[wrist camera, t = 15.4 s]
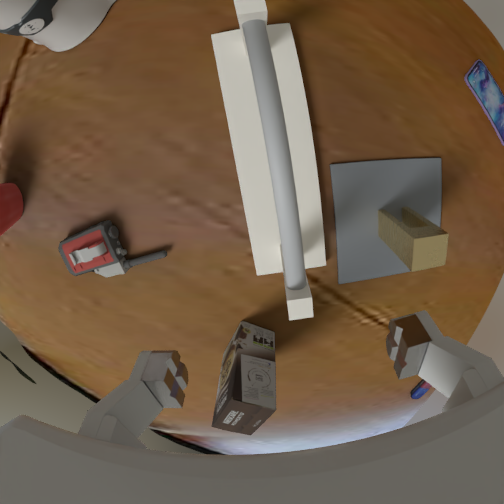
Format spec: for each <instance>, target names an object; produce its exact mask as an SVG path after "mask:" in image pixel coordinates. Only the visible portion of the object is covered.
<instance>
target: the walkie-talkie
mask: <svg viewBox="0 0 504 504" xmlns="http://www.w3.org/2000/svg"><path fill="white" fill-rule="evenodd" d="M118 235H119V232H118V229H117V228H116V226H114V225H112V223H111V221H109V220H107V221H103V222H100V223H99V224H97V225H93V226H91V227H89V228H88V229H86V230H84V231H81V232H79V233H76V234H74V235H72V236H70V237H68V238H66V239H64V240H63V241H61V242H60V244H59V252H60V254H61V256H62V258H63V260H64V262H65V265H66V267H67V269H68V271H69V272H70V273H71V274H72V275H74V276H77V275H81V274H84V273H87V272H91V271H92V272H95V273H98V274H100V275H102V276H105V277H110V276H114V275H118V274H125V273H126V272H127V271H128V270H129V268H131V267H132V266H135V265H138V264H142V263H146V262H149V261H153V260H156V259H160V258H164V257H166V256H167V252H166V251H165V250H163V251H159V252H156V253H152V254H149V255H145V256H142V257H138V258H135V259H132V260H130V259H129V260H126V259H125V257H124V255H125V254H127V251H126V250H125V249H123V248H122V246H121V244H120V242H119V239H118Z"/></svg>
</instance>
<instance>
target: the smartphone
mask: <svg viewBox="0 0 504 504" xmlns="http://www.w3.org/2000/svg"><path fill="white" fill-rule="evenodd" d="M465 82H466V84H467V85H468V87H469V88H470V89H471V91H472V92H473V94H474V95H475V97H476V99H477V100H478V102H479V103H480V105H481V107H482V108H483V110H484V112H485V113H486V115H487V117H488V118H489V120H490V122H491V124H492V126H493V127H494V129H495V131H496V133H497V135H498V137H499V139H500V141H501V143H502V145H503V146H504V95H503V93H502V92H501V90H500V88H499V87H498V85H497V83H496V82H495V80H494V78H493V77H492V75H491V74H490V72H489V71H488V69H487V68H486V66H485V65H484V63H483V62H482V61H481V60H477V61H476V62H475V63H474V64H473V66H472V67H471V68H470V70H469V71H468V72H467V74H466V75H465Z"/></svg>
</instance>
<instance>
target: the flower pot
mask: <svg viewBox="0 0 504 504" xmlns="http://www.w3.org/2000/svg"><path fill="white" fill-rule="evenodd" d="M22 213H23V199H22V194H21V192H20V190H19V188H18V187H17V186H16V185H15V184H14V183H3V184H0V236H1V235H2V234H3V233H4V232H5V231H7V230H8V229H9V228H10V227H11V226H12V225H13V224H14V223H16V222H17V221H18V220H19V219H20V218H21V216H22Z"/></svg>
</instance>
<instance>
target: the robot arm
mask: <svg viewBox="0 0 504 504" xmlns="http://www.w3.org/2000/svg"><path fill="white" fill-rule="evenodd" d="M115 1H116V0H0V33H4V34H10V35H16V36H20V35H21V36H24V37H26V38H29V39H32V40H33V41H34V43H36V44H43V45H45V46H46V47H48V48H49V49H51V50H53V51H57V52H60V51H65V50H68V49H71V48H73V47H75V46H76V45H78V44H79V43H81V42H82V41H83V40H85V39H86V38H87V37H88V36H89V35H90V34H91V33H92V32H93V31H94V30H95V29H96V28H97V27H98V25H99V24H100V23H101V21H102V20H103V18H104V17H105V15H106V13H107V12H108V10H109V8H110V7H111V5H112V4H113V3H114V2H115ZM388 328H389V330H390V333H389V334H388V335H387V339H386V347H387V352H388V355H389V357H390V359H392V360H393V361H395V363H394V369H395V371H396V374H397V376H398V379H403V378H407V377H410V376H414V375H417V374H418V375H419V376H420V377H421V378H422V379H424V380H425V381H426V382H428V383H429V384H430V385H432V386H433V387H434V388H436V389H437V390H438V391H440V392H441V393H442V394H444V395H445V396H446V397H447V398H449V399H448V401H447V403H446V404H445V406H444V408H443V409H442V413H441V414H438V415H436V416H433V417H431V418H428V419H426V420H423V421H420V422H417V423H415V424H412V425H409V426H406V427H403V428H400V429H397V430H393V431H390V432H387V433H383V434H380V435H376V436H372V437H369V438H365V439H361V440H356V441H352V442H347V443H343V444H338V445H332V446H327V447H321V448H315V449H308V450H300V451H292V452H282V453H270V454H253V455H203V454H187V453H175V452H166V451H157V450H150V449H146V448H147V447H146V446H145V445H144V444H143V443H142V442H141V441H140V440H139V439H138V437H139V436H140V435H141V434H142V433H143V432H144V430H145V429H146V428H147V427H148V426H149V425H150V424H151V422H152V421H153V420H154V419H155V418H156V417H157V415H158V414H159V413H160V412H161V411H162V410H163V408H182V406H183V402H184V398H185V394H184V392H183V389H185V388H186V387H187V384H188V371H187V368H186V366H185V364H184V363H182V362H180V357H181V356H180V355H179V353H178V351H175V350H170V351H142V352H141V353H140V354H139V356H138V359H137V361H136V363H135V366H134V368H133V370H132V373H131V375H130V378H129V380H125V381H124V382H123V383H121V384H120V385H119V386H118V387H117V388H115V389H114V390H113V391H112V392H110V393H109V394H108V395H107V396H105V397H104V398H103V399H102V400H100V401H99V402H98V403H97V404H96V405H94V406H93V407H92V408H90V409H89V410H88V411H87V414H86V416H85V418H84V421H83V423H82V426H81V428H80V430H79V433H78V434H76V433H73V432H70V431H66V430H63V429H60V428H57V427H55V426H52V425H49V424H46V423H44V422H41V421H38V420H36V419H33V418H31V417H29V416H26V415H19V416H18V417H16V418H14V419H12V420H11V421H9V422H8V423H6V424H5V425H3V426H2V427H1V428H0V504H504V377H503V376H502V374H501V372H500V371H499V369H498V368H497V366H496V364H495V363H494V361H493V360H492V358H490V357H488V356H486V355H484V354H482V353H480V352H478V351H476V350H474V349H472V348H470V347H468V346H466V345H464V344H462V343H460V342H458V341H456V340H454V339H452V338H450V337H448V336H446V337H444V336H443V335H442V333H441V332H440V330H439V329H438V327H437V326H436V324H435V323H434V321H433V320H432V318H431V317H430V315H429V314H428V313H427V311H425V310H424V311H420V312H417V313H414V314H410V315H406V316H402V317H399V318H395V319H391V320H390V322H389V327H388Z"/></svg>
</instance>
